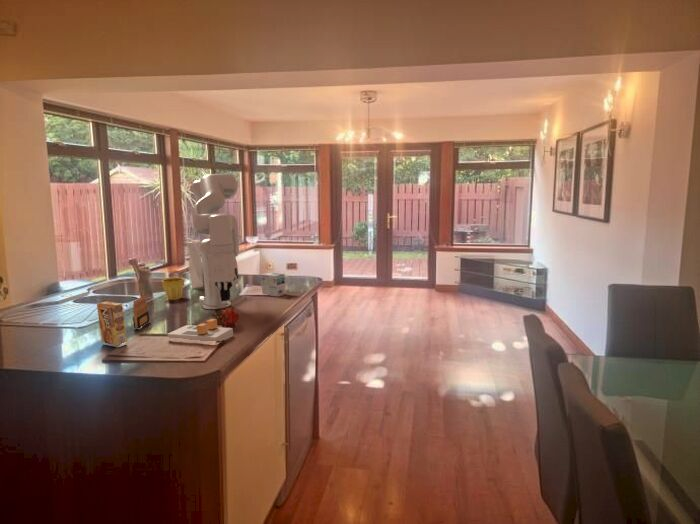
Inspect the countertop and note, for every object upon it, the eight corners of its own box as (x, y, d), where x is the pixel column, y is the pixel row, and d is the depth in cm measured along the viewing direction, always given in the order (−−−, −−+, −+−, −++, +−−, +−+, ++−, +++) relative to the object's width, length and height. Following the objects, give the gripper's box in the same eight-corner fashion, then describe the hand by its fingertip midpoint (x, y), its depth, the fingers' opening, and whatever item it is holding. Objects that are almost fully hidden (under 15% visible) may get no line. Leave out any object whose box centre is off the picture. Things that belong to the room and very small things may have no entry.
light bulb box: (286, 294, 243) (285, 273, 241) (277, 297, 238) (276, 275, 236) (270, 292, 249) (269, 271, 247) (261, 294, 243) (260, 274, 241)
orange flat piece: (138, 330, 188) (135, 300, 186) (134, 330, 188) (130, 300, 186) (149, 322, 199) (147, 294, 197) (145, 322, 199) (142, 294, 197)
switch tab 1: (197, 333, 169) (196, 325, 169) (202, 331, 172) (201, 323, 172) (203, 334, 169) (202, 326, 168) (208, 331, 171) (207, 323, 171)
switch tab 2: (207, 328, 175) (206, 321, 174) (211, 326, 178) (211, 318, 177) (212, 329, 174) (212, 321, 174) (217, 326, 177) (216, 319, 177)
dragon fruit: (218, 336, 183) (233, 331, 194) (235, 323, 181) (248, 319, 193) (206, 317, 184) (221, 313, 195) (222, 304, 182) (237, 301, 194)
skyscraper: (190, 289, 261) (186, 238, 256) (189, 287, 268) (184, 237, 264) (206, 288, 264) (202, 237, 260) (204, 285, 271) (200, 236, 267)
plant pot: (181, 300, 236) (179, 281, 235) (160, 301, 236) (158, 281, 235) (188, 295, 246) (186, 277, 245) (168, 296, 247) (166, 277, 245)
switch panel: (168, 341, 172) (167, 333, 172) (187, 332, 183) (186, 324, 182) (216, 345, 166) (215, 337, 166) (233, 336, 177) (232, 327, 176)
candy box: (127, 345, 170) (123, 303, 168) (117, 348, 167) (112, 306, 164) (111, 341, 175) (107, 300, 172) (101, 345, 171) (96, 303, 168)
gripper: (197, 250, 168) (201, 301, 171) (234, 250, 163) (238, 303, 166) (209, 248, 175) (213, 297, 178) (245, 248, 171) (249, 298, 173)
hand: (225, 300), depth 172 cm, fingers closed
